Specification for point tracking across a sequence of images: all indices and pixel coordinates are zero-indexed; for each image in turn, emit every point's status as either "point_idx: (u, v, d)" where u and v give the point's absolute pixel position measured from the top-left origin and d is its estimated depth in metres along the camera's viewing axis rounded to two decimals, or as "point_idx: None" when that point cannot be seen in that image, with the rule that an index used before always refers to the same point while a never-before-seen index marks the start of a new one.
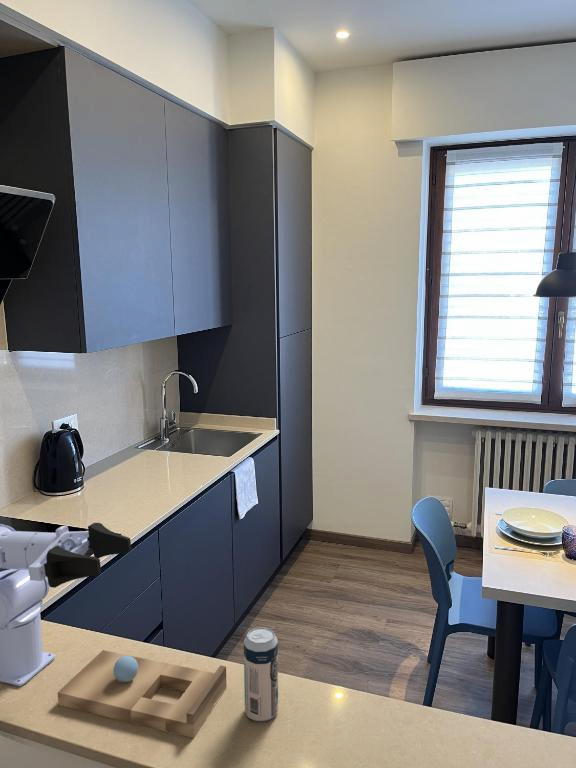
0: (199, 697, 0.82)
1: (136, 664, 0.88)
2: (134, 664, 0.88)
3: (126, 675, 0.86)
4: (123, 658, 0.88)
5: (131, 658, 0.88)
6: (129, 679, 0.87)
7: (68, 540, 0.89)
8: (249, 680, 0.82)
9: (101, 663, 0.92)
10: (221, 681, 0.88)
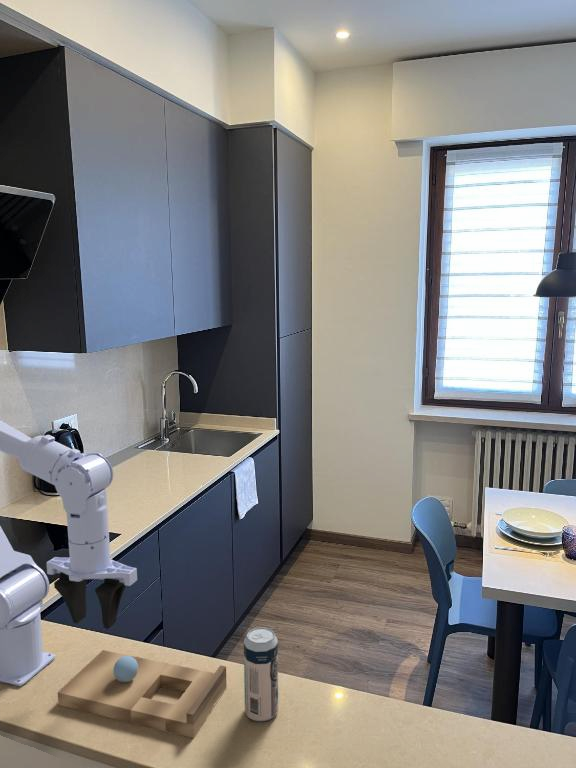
0: (199, 697, 0.82)
1: (136, 664, 0.88)
2: (134, 664, 0.88)
3: (126, 675, 0.86)
4: (123, 658, 0.88)
5: (131, 658, 0.88)
6: (129, 679, 0.87)
7: None
8: (249, 680, 0.82)
9: (101, 663, 0.92)
10: (221, 681, 0.88)
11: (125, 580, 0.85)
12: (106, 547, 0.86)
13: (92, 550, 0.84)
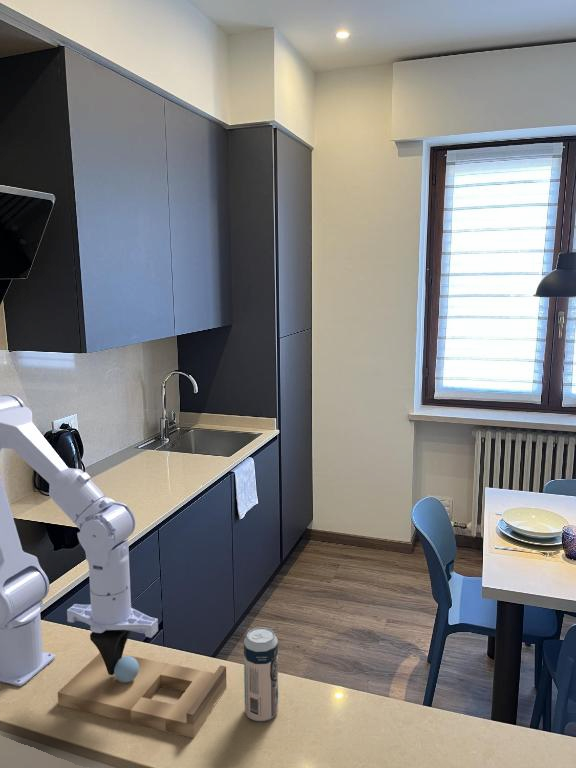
0: (199, 697, 0.82)
1: (137, 665, 0.88)
2: (135, 665, 0.88)
3: (127, 675, 0.86)
4: (124, 658, 0.88)
5: (132, 659, 0.88)
6: (129, 680, 0.87)
7: None
8: (249, 680, 0.82)
9: (101, 663, 0.92)
10: (221, 681, 0.88)
11: (146, 632, 0.85)
12: (127, 597, 0.86)
13: (114, 602, 0.85)
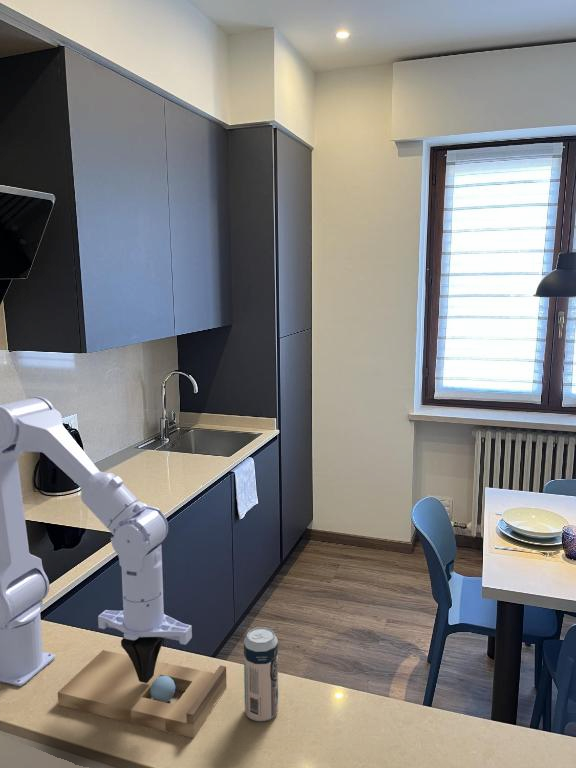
0: (199, 697, 0.82)
1: None
2: None
3: (151, 692, 0.85)
4: None
5: None
6: (154, 684, 0.86)
7: None
8: (249, 680, 0.82)
9: (101, 663, 0.92)
10: (221, 681, 0.88)
11: (181, 639, 0.83)
12: (161, 603, 0.85)
13: (147, 608, 0.83)
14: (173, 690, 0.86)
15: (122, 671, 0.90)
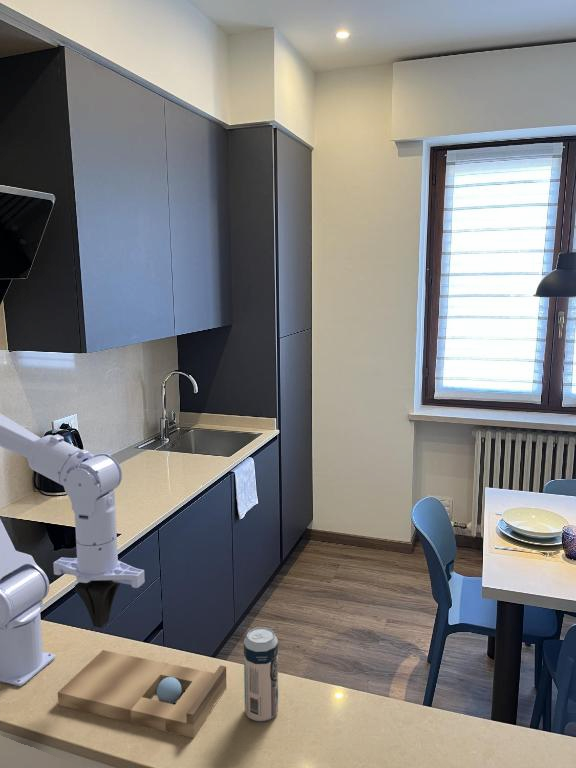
0: (199, 697, 0.82)
1: (162, 680, 0.87)
2: (159, 683, 0.87)
3: (159, 690, 0.85)
4: None
5: None
6: (165, 685, 0.85)
7: None
8: (249, 680, 0.82)
9: (101, 663, 0.92)
10: (221, 681, 0.88)
11: (133, 582, 0.84)
12: (114, 548, 0.86)
13: (100, 552, 0.84)
14: (178, 697, 0.86)
15: (122, 671, 0.90)
